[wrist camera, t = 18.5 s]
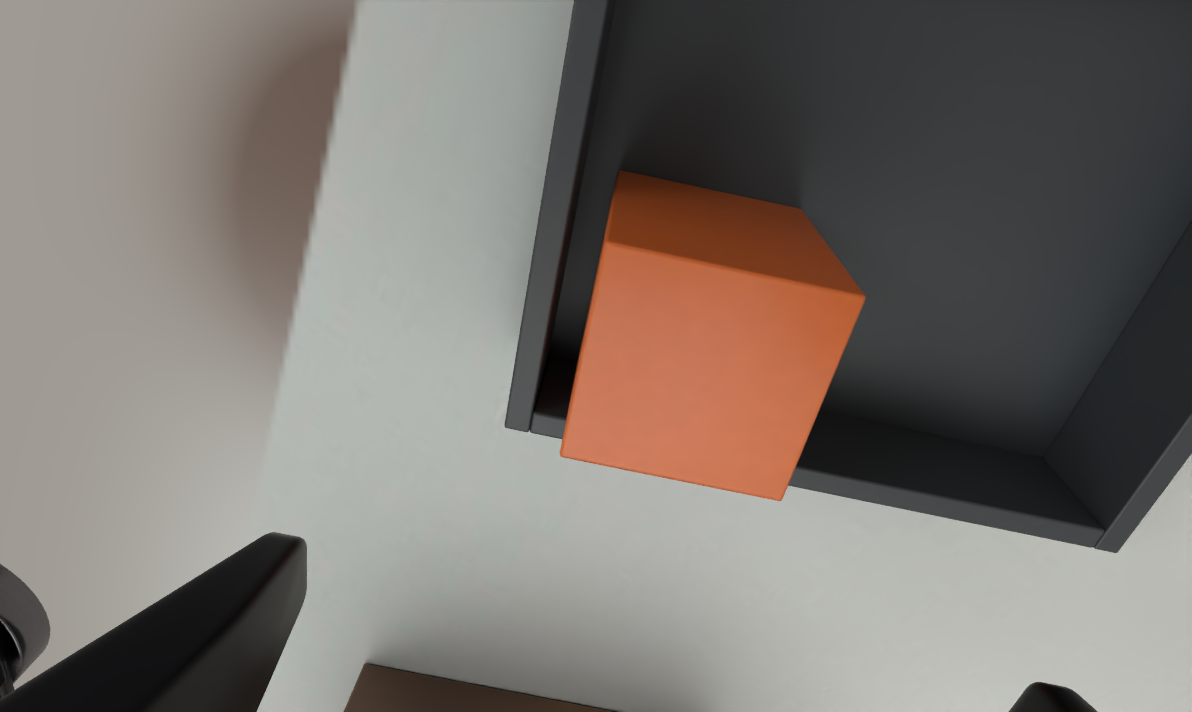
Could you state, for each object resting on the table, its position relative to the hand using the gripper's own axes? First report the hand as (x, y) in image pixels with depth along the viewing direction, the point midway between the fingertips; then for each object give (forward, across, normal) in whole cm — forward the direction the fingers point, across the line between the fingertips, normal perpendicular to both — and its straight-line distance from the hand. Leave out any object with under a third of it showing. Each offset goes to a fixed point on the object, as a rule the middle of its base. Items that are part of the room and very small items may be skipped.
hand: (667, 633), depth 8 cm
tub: (+11, -4, -4) cm, 13 cm away
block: (+10, -1, -1) cm, 11 cm away
